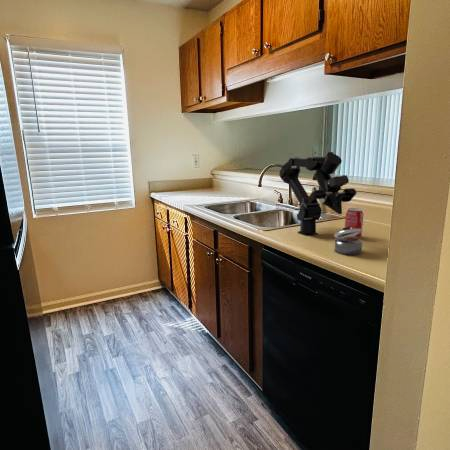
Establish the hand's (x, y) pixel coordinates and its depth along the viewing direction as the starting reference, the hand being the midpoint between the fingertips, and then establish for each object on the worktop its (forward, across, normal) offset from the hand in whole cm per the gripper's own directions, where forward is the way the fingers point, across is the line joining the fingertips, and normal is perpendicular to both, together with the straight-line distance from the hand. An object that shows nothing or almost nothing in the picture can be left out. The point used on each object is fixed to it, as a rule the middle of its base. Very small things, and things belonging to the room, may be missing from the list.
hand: (340, 213), depth 127 cm
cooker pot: (+14, 0, +5) cm, 15 cm away
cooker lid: (+9, 0, +1) cm, 9 cm away
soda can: (+1, +16, +18) cm, 24 cm away
